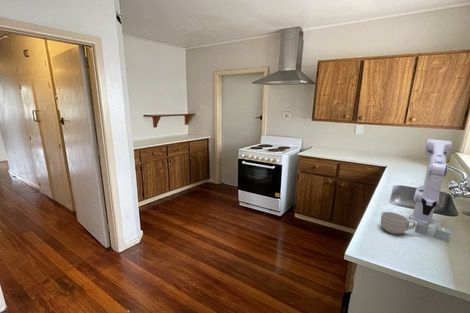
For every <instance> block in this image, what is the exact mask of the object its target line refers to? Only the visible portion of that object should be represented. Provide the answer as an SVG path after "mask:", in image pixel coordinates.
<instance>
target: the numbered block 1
mask: <svg viewBox="0 0 470 313" xmlns="http://www.w3.org/2000/svg"><path fill="white" fill-rule="evenodd" d="M450 235H451V230H450V229H449V228H445V227H442V226H439V225H437V226H436V228H435V232H434V239H436V240H440V241H443V242H445V243H448V242H449V239H450Z"/></svg>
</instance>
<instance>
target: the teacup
mask: <svg viewBox="0 0 470 313" xmlns="http://www.w3.org/2000/svg"><path fill="white" fill-rule="evenodd" d="M406 217H407V216H405V215H403V214H400V213H397V212H392V211H383V212H381V217H380V226H381V227H382V229H383V230H384V231H386V232H387V233H390V234H392V235H401V234H403V233H405V232H406V231H407V230H412V229H415V228H416V224H417V222H416V220H414V219H413V220H412V219H410V220H408V218H409V217H408V218H406ZM408 223H409V224H410V223H412V225H411V226H409V227H407V225H408Z"/></svg>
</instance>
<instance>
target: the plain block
mask: <svg viewBox="0 0 470 313" xmlns="http://www.w3.org/2000/svg"><path fill="white" fill-rule="evenodd" d="M429 228H430V223H424V222H420V221H417V220H416V227H415V228H414V229H415V230H414V232H415V233H416V234H419V235H423V236H425V237H426V236H428V233H429Z"/></svg>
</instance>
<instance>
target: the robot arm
mask: <svg viewBox="0 0 470 313" xmlns="http://www.w3.org/2000/svg"><path fill="white" fill-rule="evenodd" d="M452 145H453V143H452V140H443V139H434V138H427V139H426V143H425V147H424V155H425V156H426V157H427V158H428V161H427V162H428V163H427V167H426V172H425V176H424V181H423V185H420V186H418V187H416V189H415V192H414V195H413V201H414V202H415V205H414V209H413V214H411V215H409V217H408V218H411V220H412V219H413V220H414V221H416V222H417V221H420V222H424V223H427V224H430V223H431V222H433V221H434V218H433V216H434V211H435V207H436V206H438V205H439V202H440V201H439V200H440V193H441V190H442V188H443V187H442V186H443V182H444V178H445V177H447V174H448V171H449V164H448V163H447V156H449V154H450V151H451V149H452Z"/></svg>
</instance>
